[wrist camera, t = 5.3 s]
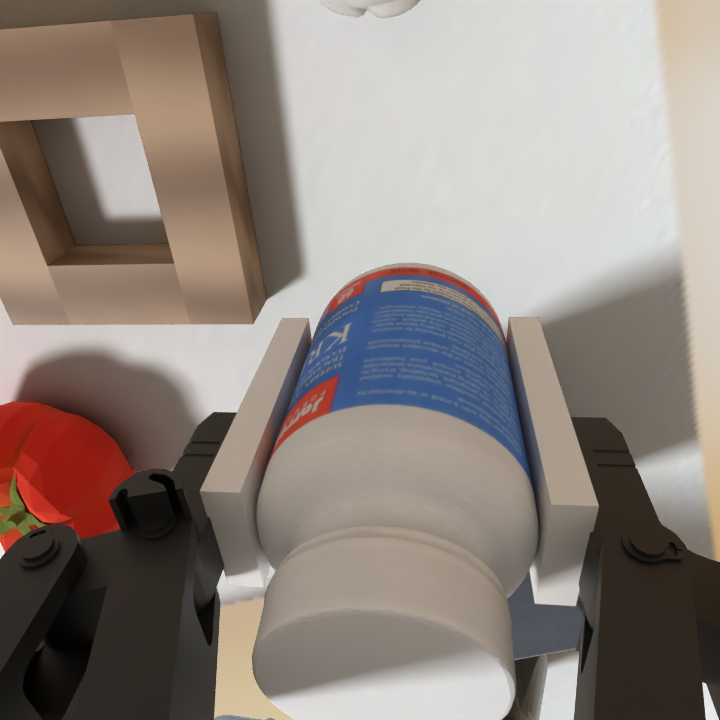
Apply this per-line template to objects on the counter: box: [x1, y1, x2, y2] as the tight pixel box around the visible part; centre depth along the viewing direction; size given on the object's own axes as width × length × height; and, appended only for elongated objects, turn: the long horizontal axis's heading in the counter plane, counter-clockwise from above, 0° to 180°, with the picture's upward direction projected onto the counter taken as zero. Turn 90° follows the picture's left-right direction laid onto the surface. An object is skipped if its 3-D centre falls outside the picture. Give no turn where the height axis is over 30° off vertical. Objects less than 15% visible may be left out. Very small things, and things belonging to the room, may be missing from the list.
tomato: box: [0, 402, 135, 552], centre depth 40 cm, size 13×12×8 cm
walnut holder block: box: [0, 12, 267, 325], centre depth 30 cm, size 15×15×3 cm
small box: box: [507, 571, 585, 660], centre depth 33 cm, size 13×7×12 cm, turn 29°
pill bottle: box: [252, 263, 539, 720], centre depth 12 cm, size 6×5×10 cm
